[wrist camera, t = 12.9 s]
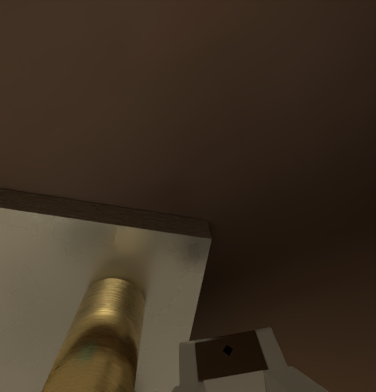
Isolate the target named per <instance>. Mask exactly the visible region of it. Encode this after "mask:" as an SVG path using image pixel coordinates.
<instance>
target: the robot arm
mask: <svg viewBox="0 0 376 392" xmlns="http://www.w3.org/2000/svg"><path fill="white" fill-rule="evenodd" d="M179 382H180V386H175V387H174V389H173V390H172V392H329V391H327V390H326V389H324V388H323V387H321V386H320V385H319V384H317V383H316V382H314V381H313V380H311V379H310V378H309V377H307V376H306V375H304V374H303V373H302V372H300V371H299V370H297V369H296V368H294V367H293V366H290V367H287V364H286V362H285V359H284V357H283V355H282V352H281V350H280V348H279V345H278V343H277V340H276V338H275V336H274V333H273V331H272V329H271V328H270V327H267V328H262V329H257V330H255V331H254V330H253V331H247V332H242V333H236V334H231V335H225V336H219V337H212V338H206V339H199V340H195V341H188V342H181V343H179Z"/></svg>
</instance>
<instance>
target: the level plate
mask: <svg viewBox="0 0 376 392" xmlns="http://www.w3.org/2000/svg"><path fill="white" fill-rule="evenodd" d="M211 240H212V238H211V235H210V231H209V227H208V223H207V220H201V219H194V218H188V217H181V216H175V215H168V214H162V213H155V212H149V211H142V210H136V209H129V208H123V207H116V206H110V205H103V204H97V203H90V202H84V201H77V200H71V199H64V198H58V197H51V196H45V195H38V194H32V193H25V192H19V191H12V190H6V189H0V392H42V390H43V387H44V385H45V383H46V381H47V378H48V376H49V374H50V371H51V369H52V367H53V365H54V362H55V360H56V358H57V356H58V353H59V351H60V349H61V346H62V344H63V342H64V340H65V337H66V335H67V333H68V331H69V328H70V326H71V324H72V321H73V319H74V317H75V315H76V312H77V310H78V308H79V305H80V303H81V301H82V299H83V296H84V294H85V292H86V291H87V289H88V288H89V287H90V286H91V285H93V284H94V283H96V282H98V281H100V280H103V279H109V278H116V279H122V280H125V281H128V282H130V283H131V284H133V285H134V286H136V287H137V288H138V289H139V290H140V292H141V293H142V295H143V297H144V300H145V313H144V320H143V328H142V336H141V343H140V351H139V358H138V366H137V374H136V381H135V389H134V392H172V390H173V389H174V387H175V386H179V383H180V382H179V343H181V342H188V341H189V339H190V334H191V330H192V325H193V321H194V316H195V312H196V307H197V303H198V298H199V294H200V289H201V285H202V280H203V276H204V271H205V267H206V262H207V258H208V253H209V249H210V245H211Z"/></svg>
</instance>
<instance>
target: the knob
mask: <svg viewBox="0 0 376 392" xmlns="http://www.w3.org/2000/svg"><path fill="white" fill-rule="evenodd" d="M144 313H145V300H144V297H143V295H142V293H141V292H140V290H139V289H138V288H137V287H136V286H134V285H133V284H131V283H130V282H128V281H125V280H122V279H116V278H109V279H103V280H100V281H98V282H96V283H94V284H93V285H91V286H90V287H89V288H88V289H87V291H86V292H85V294H84V296H83V299H82V301H81V303H80V305H79V308H78V310H77V312H76V315H75V317H74V319H73V321H72V324H71V326H70V328H69V331H68V333H67V335H66V337H65V340H64V342H63V344H62V346H61V349H60V351H59V353H58V356H57V358H56V360H55V362H54V365H53V367H52V369H51V371H50V374H49V376H48V378H47V381H46V383H45V385H44V387H43V390H42V392H134V389H135V381H136V374H137V366H138V358H139V351H140V343H141V336H142V328H143V320H144Z"/></svg>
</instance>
